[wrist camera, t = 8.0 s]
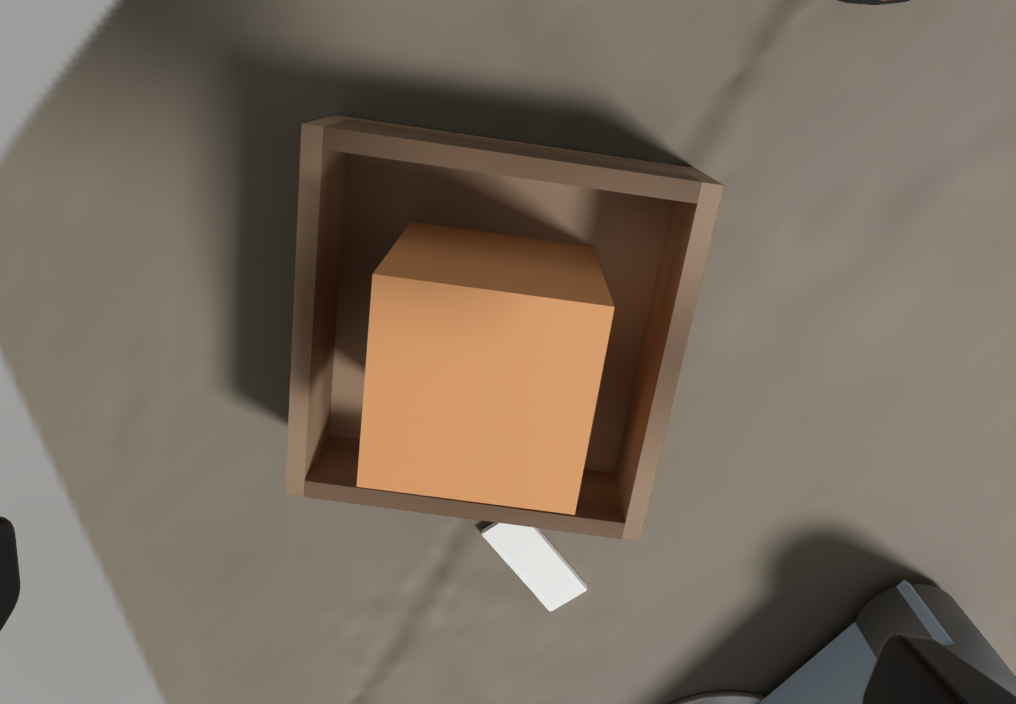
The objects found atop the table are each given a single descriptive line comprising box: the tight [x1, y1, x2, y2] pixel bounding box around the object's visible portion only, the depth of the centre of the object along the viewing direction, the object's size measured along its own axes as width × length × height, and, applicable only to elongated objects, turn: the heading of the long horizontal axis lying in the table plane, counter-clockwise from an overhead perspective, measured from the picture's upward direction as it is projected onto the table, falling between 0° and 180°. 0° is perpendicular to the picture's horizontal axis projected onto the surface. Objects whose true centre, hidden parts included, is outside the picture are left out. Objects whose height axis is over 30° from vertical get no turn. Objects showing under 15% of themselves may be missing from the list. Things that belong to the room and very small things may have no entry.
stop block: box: [357, 222, 615, 515], centre depth 15 cm, size 4×4×4 cm
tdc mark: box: [481, 522, 587, 612], centre depth 20 cm, size 3×1×1 cm, turn 37°
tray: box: [285, 115, 724, 541], centre depth 17 cm, size 8×8×3 cm
